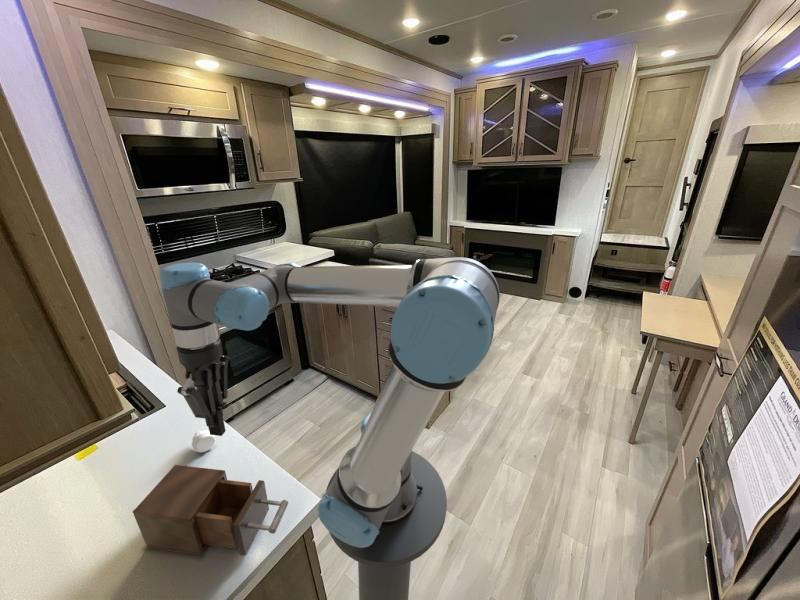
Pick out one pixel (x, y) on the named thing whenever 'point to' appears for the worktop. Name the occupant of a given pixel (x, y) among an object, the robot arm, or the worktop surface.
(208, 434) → the white rounded lump
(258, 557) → the worktop surface
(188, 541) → the cabinet
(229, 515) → the drawer
